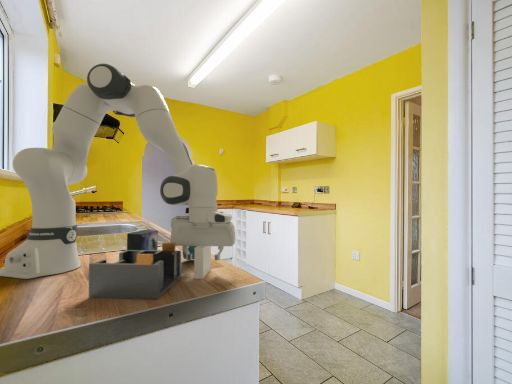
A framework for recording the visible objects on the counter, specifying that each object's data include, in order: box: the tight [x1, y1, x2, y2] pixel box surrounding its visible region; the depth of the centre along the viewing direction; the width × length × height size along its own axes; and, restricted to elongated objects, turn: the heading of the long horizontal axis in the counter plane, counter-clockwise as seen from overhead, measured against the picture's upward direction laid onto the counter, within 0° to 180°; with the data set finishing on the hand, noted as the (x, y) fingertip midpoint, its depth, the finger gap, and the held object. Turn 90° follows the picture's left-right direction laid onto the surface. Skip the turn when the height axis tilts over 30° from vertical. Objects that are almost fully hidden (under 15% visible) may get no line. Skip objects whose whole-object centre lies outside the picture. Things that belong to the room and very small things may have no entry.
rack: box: [88, 241, 182, 300], centre depth 66 cm, size 17×15×10 cm
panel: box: [194, 246, 212, 280], centre depth 77 cm, size 2×10×9 cm, turn 177°
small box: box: [126, 229, 159, 250], centre depth 94 cm, size 11×6×10 cm, turn 168°
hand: (203, 259), depth 77 cm, fingers open, 8 cm apart
